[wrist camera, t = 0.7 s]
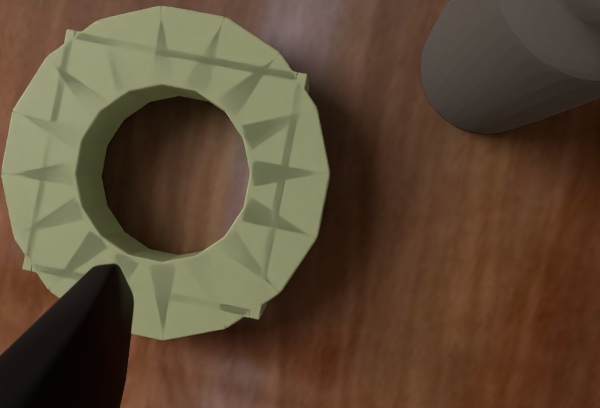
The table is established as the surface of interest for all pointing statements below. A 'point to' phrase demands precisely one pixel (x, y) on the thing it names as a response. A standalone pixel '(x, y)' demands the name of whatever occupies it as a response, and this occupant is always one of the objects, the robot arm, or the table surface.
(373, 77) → the table surface
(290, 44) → the table surface
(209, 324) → the holder
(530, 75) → the bottle
